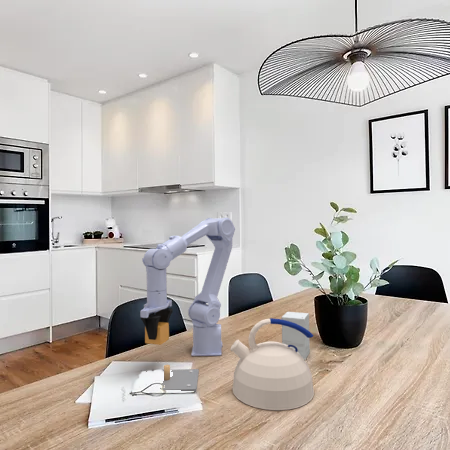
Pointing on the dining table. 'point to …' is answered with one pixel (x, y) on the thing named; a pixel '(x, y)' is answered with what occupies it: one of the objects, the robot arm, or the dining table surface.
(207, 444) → the dining table surface
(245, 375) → the kettle
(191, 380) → the plate
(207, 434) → the dining table surface
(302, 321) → the supplement box
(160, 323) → the orange cube
